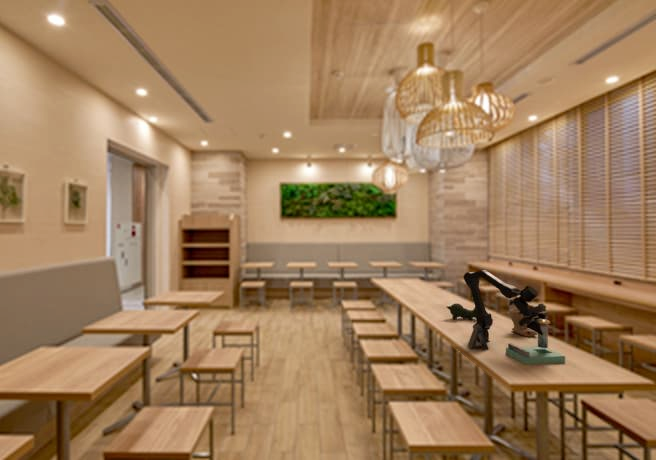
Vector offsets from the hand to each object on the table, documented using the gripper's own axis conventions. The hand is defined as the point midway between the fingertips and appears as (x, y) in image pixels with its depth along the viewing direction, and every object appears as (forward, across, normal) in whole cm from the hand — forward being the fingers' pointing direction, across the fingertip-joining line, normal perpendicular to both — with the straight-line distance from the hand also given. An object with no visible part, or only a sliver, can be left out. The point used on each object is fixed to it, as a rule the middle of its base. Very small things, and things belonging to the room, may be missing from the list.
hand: (545, 334), depth 188 cm
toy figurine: (-44, +36, +61) cm, 83 cm away
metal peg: (+4, 0, +6) cm, 7 cm away
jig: (+6, -4, +11) cm, 13 cm away
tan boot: (-13, +33, +30) cm, 47 cm away
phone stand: (-11, -13, +29) cm, 34 cm away
